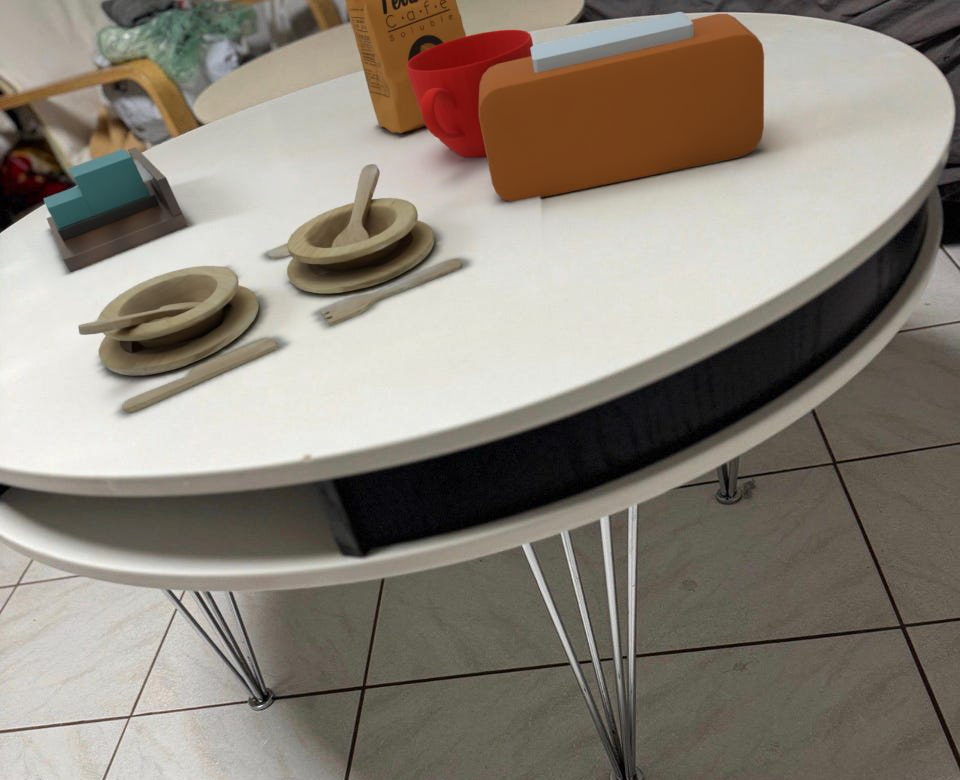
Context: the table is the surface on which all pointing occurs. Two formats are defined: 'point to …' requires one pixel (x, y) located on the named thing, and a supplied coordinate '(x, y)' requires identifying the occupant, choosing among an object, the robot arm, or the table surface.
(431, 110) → the ceramic cup
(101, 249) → the brown l-shaped piece
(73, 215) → the teal l-shaped block
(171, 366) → the tableware set
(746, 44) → the alarm clock
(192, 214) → the table surface
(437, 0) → the coffee package
